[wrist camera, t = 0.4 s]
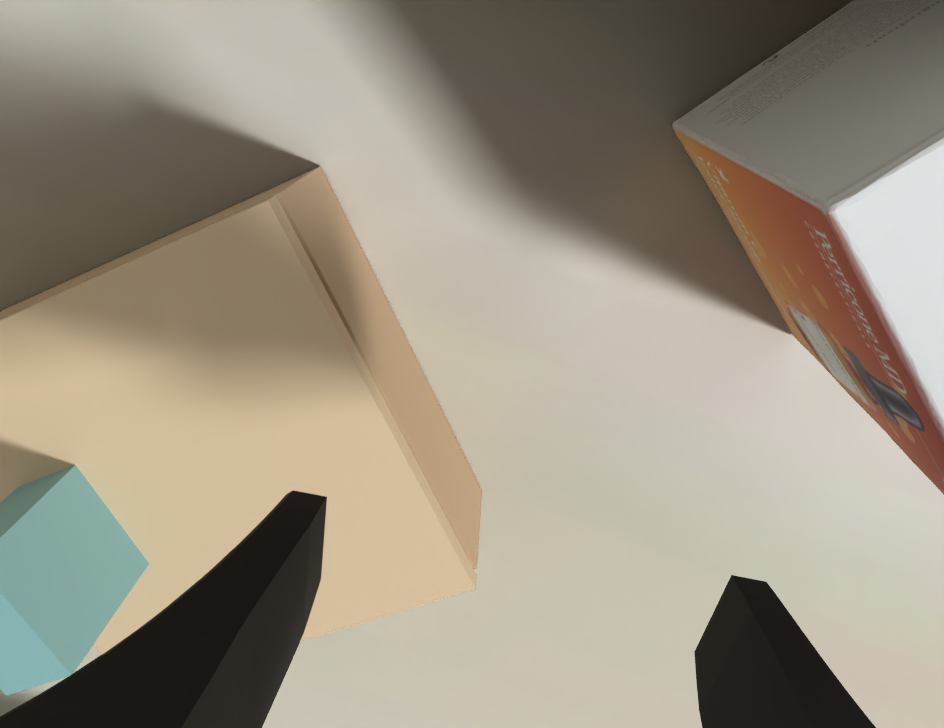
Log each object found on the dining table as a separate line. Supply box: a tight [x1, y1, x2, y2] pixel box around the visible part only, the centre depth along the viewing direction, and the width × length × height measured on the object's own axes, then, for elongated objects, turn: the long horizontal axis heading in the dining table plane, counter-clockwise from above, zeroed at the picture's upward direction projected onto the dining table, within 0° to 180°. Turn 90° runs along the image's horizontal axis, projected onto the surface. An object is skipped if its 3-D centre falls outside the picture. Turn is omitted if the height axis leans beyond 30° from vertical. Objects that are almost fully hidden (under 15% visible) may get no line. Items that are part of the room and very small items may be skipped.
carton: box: [0, 166, 482, 569], centre depth 22 cm, size 12×12×4 cm
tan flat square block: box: [0, 195, 477, 696], centre depth 18 cm, size 12×12×5 cm
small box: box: [672, 0, 944, 494], centre depth 15 cm, size 8×6×10 cm
